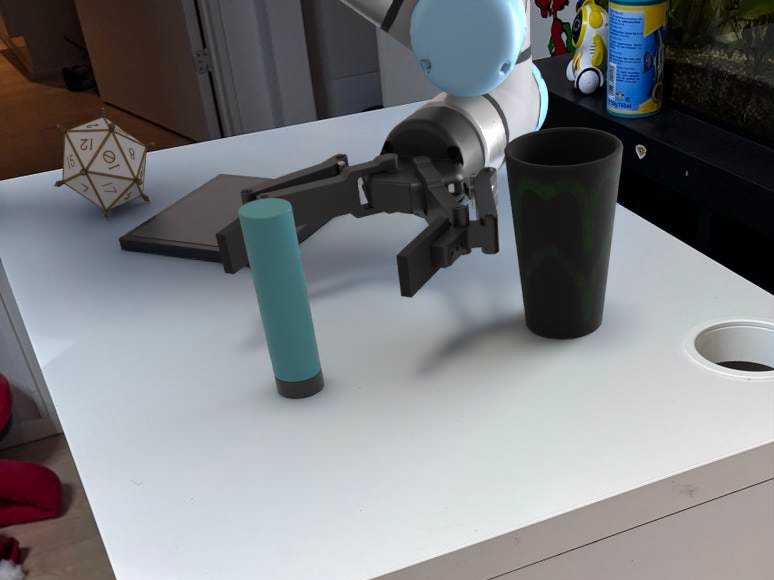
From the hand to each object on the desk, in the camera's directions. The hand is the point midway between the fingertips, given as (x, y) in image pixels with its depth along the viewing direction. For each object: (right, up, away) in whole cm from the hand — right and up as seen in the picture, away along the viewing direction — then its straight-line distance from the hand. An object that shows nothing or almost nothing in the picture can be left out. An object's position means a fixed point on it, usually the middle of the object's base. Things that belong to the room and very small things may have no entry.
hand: (311, 265), depth 67 cm
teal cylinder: (-1, -7, +2) cm, 8 cm away
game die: (-23, +16, +29) cm, 40 cm away
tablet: (-10, +13, +24) cm, 29 cm away
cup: (+17, -2, +7) cm, 19 cm away
